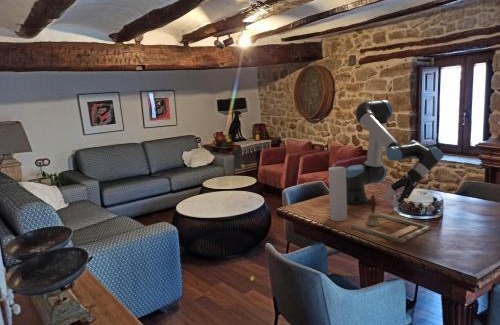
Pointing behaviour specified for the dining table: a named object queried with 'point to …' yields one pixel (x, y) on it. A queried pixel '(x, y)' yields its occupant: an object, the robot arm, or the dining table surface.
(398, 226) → the dining table surface
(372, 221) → the hand bell
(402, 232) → the tan wooden strip
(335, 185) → the cylinder container
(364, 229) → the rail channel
